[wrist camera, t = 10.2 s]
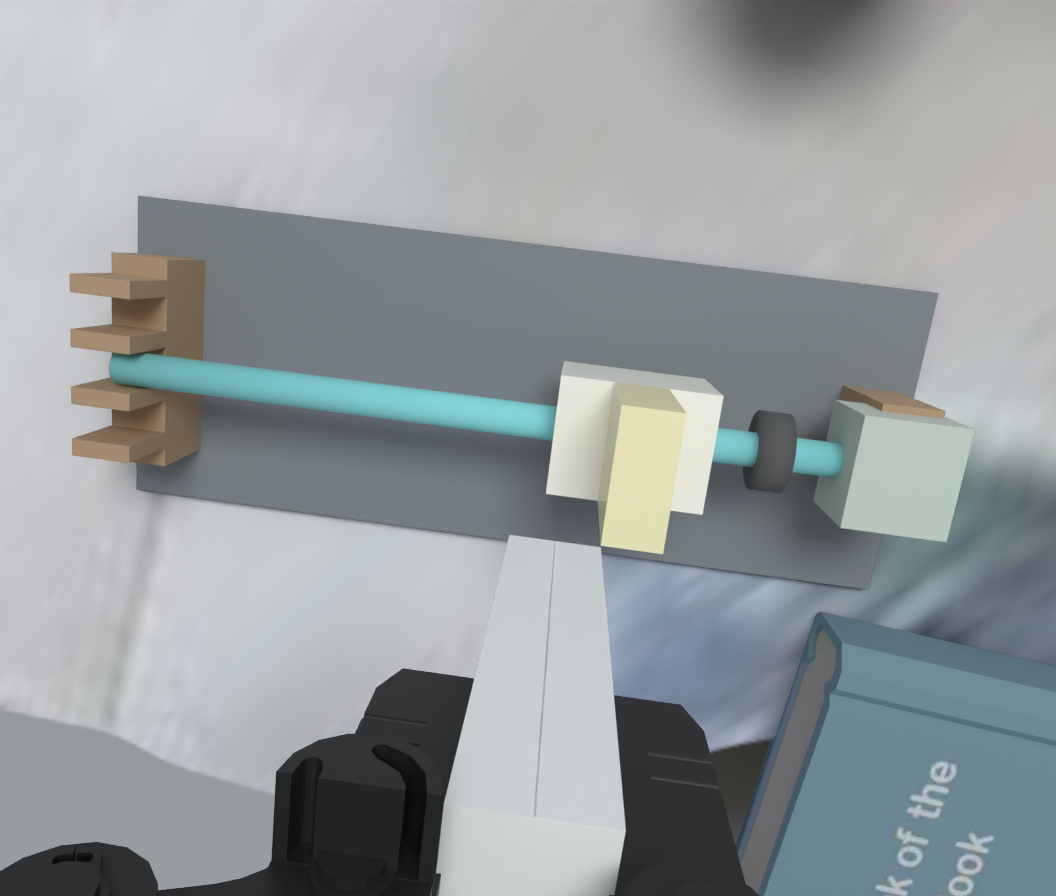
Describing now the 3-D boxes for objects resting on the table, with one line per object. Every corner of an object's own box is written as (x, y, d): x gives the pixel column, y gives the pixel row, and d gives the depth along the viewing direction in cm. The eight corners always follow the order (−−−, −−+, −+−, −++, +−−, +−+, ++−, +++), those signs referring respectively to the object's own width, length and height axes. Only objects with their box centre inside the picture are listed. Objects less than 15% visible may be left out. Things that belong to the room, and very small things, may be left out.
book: (726, 870, 43) (745, 948, 38) (815, 604, 39) (848, 652, 34) (1138, 968, 42) (1210, 1060, 38) (1267, 709, 39) (1365, 772, 34)
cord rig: (142, 486, 40) (45, 534, 32) (145, 196, 36) (37, 179, 29) (864, 584, 38) (929, 658, 31) (932, 292, 35) (1023, 299, 28)
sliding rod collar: (550, 464, 35) (538, 537, 25) (564, 360, 34) (556, 396, 24) (686, 482, 34) (725, 562, 25) (704, 378, 33) (752, 421, 24)
